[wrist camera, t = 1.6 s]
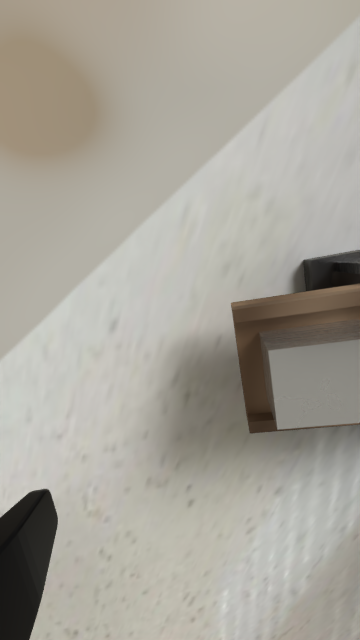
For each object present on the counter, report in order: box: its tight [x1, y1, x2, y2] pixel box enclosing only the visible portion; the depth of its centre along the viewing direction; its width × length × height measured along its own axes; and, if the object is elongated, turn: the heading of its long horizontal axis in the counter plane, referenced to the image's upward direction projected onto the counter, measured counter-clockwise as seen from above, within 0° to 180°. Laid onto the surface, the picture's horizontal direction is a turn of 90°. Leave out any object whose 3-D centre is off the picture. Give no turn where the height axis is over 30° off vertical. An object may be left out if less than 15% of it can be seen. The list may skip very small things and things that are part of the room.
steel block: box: [259, 319, 360, 430], centre depth 15 cm, size 5×4×3 cm
